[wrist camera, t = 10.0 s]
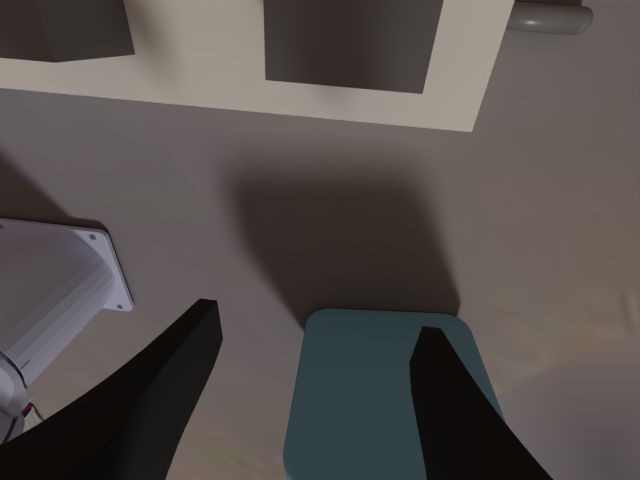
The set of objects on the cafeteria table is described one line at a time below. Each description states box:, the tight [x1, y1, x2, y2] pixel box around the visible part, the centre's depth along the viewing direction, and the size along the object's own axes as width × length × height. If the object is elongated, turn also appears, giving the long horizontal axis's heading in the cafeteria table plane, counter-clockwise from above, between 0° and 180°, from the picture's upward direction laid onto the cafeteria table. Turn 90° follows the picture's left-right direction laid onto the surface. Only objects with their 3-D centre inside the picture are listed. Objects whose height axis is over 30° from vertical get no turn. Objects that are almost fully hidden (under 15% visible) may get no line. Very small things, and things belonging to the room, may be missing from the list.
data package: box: [283, 308, 506, 480], centre depth 21 cm, size 12×4×12 cm, turn 92°
